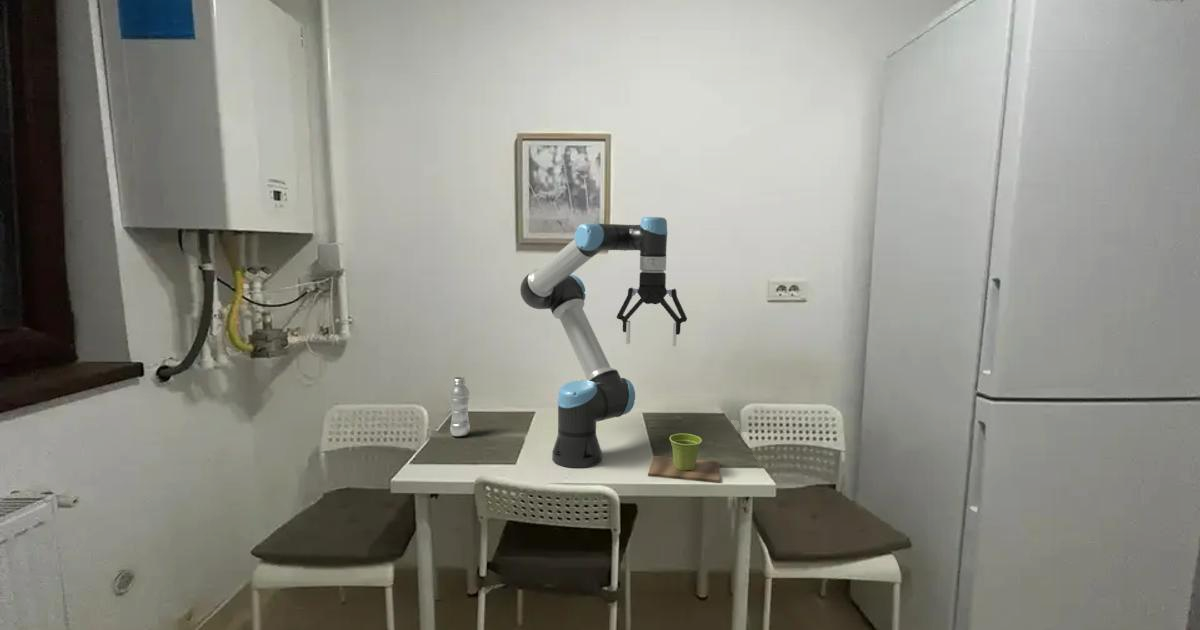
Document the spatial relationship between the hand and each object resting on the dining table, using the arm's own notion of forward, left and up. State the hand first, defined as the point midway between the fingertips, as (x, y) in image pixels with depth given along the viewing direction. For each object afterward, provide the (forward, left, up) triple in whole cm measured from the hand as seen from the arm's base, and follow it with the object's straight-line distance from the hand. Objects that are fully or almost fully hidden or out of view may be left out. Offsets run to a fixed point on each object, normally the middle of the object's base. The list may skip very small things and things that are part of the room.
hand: (650, 344), depth 166 cm
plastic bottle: (-66, +11, -37) cm, 76 cm away
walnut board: (+11, -1, -37) cm, 38 cm away
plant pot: (+11, -1, -36) cm, 38 cm away
